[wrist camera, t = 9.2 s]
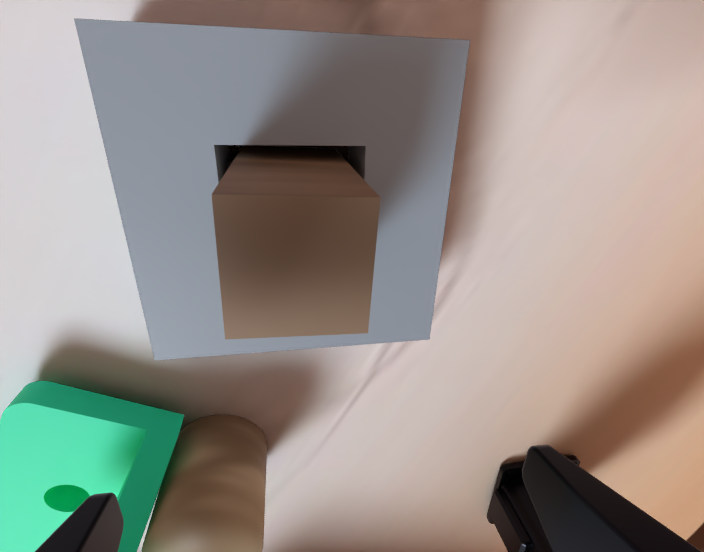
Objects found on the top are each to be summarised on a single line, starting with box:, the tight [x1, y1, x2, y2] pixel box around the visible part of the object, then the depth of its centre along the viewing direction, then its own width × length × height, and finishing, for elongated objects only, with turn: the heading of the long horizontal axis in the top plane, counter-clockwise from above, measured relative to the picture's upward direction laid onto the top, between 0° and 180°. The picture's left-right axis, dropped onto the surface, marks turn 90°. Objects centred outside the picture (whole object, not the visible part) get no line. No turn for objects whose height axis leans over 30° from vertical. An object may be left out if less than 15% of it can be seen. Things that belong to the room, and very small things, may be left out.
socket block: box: [74, 19, 470, 360], centre depth 16 cm, size 12×12×4 cm
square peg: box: [212, 145, 381, 339], centre depth 14 cm, size 4×4×9 cm
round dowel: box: [142, 415, 267, 552], centre depth 22 cm, size 6×6×6 cm
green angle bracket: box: [0, 381, 184, 552], centre depth 18 cm, size 12×8×10 cm, turn 151°
